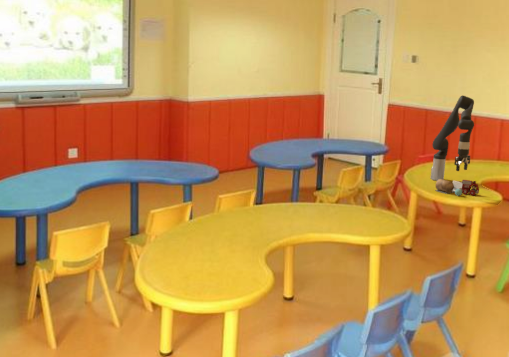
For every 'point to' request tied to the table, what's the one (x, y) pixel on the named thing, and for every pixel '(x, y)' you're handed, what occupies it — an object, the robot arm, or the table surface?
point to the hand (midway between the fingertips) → (461, 170)
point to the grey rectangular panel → (446, 192)
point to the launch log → (444, 185)
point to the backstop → (457, 185)
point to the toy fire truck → (469, 187)
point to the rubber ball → (458, 192)
